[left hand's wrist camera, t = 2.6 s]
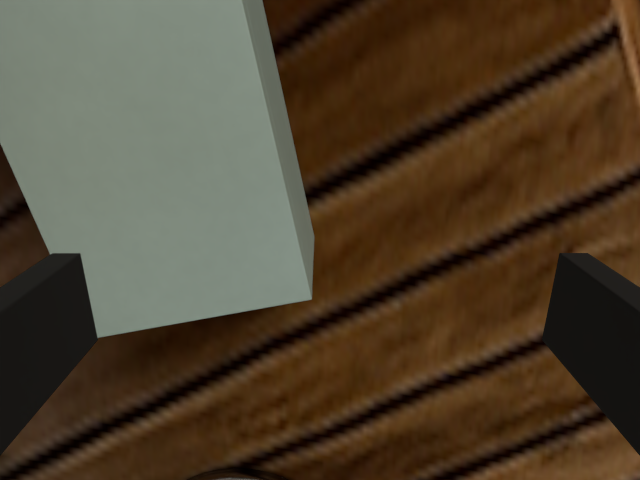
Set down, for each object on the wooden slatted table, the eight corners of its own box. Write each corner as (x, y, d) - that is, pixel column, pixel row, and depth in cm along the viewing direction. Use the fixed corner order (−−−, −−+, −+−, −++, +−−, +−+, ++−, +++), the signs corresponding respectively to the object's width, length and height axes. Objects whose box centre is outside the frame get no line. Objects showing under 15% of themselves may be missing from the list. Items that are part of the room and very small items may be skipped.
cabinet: (9, -118, 22) (-167, -227, 14) (224, -174, 21) (166, -322, 13) (150, 268, 30) (87, 340, 22) (314, 237, 29) (311, 299, 21)
